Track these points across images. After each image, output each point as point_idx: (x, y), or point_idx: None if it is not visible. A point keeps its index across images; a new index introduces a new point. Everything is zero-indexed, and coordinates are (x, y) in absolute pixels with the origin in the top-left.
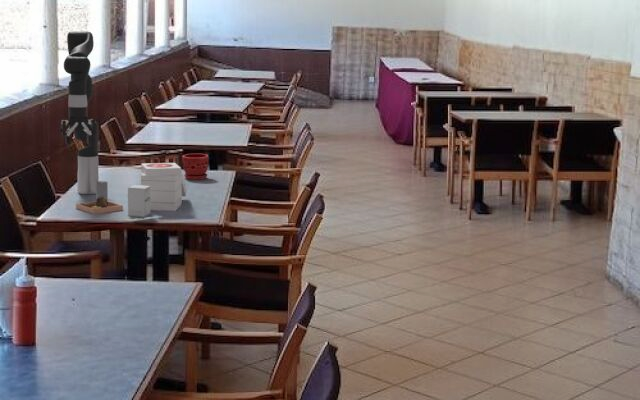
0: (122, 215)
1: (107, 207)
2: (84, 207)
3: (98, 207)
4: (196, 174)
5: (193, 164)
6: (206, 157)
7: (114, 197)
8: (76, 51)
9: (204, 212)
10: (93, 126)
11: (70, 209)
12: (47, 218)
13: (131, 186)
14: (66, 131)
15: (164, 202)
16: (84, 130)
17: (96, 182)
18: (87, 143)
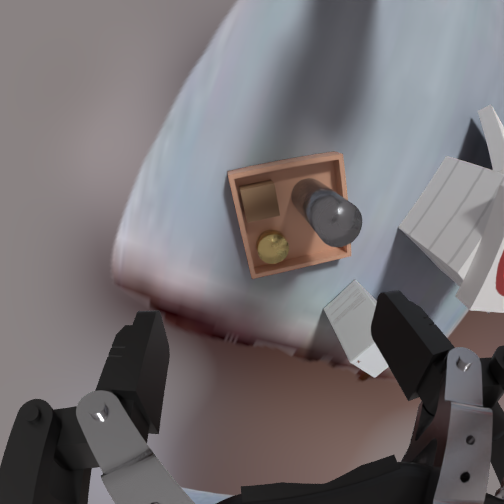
0: (324, 281)
1: (300, 267)
2: (240, 228)
3: (274, 263)
4: None
5: None
6: None
7: (403, 36)
8: None
9: (458, 299)
10: (498, 457)
11: (216, 143)
12: (122, 251)
13: (369, 348)
14: (93, 451)
15: (439, 266)
16: (439, 416)
17: (317, 223)
18: (378, 310)
